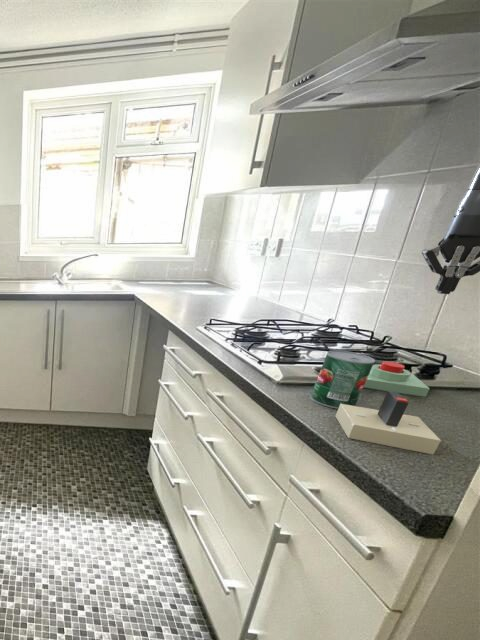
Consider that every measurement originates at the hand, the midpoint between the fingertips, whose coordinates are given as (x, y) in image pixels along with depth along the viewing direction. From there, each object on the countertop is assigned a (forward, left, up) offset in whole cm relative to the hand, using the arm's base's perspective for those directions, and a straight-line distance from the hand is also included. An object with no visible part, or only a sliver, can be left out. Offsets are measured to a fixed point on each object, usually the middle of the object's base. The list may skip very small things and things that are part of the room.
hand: (442, 293), depth 97 cm
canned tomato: (+19, +25, -22) cm, 38 cm away
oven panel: (+14, +38, -22) cm, 46 cm away
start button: (+5, +6, -18) cm, 20 cm away
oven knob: (+14, +38, -19) cm, 45 cm away
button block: (+5, +6, -22) cm, 23 cm away
